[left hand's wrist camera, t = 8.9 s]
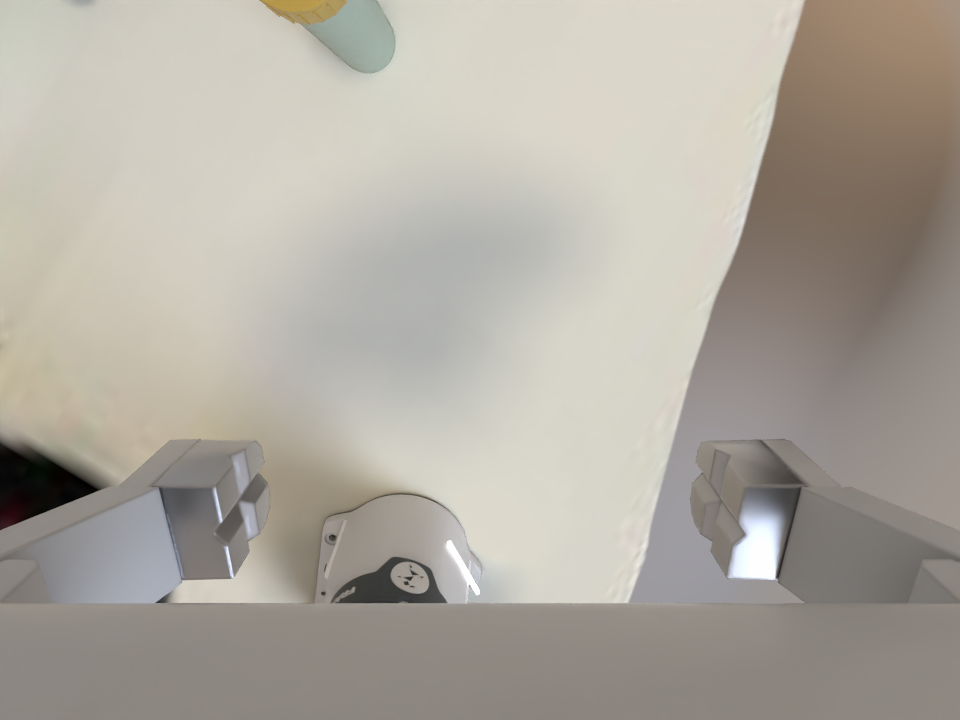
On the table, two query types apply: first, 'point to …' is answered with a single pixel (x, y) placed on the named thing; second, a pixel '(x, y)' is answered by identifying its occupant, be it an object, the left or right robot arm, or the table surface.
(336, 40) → the pale green cylinder
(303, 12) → the lid
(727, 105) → the table surface
